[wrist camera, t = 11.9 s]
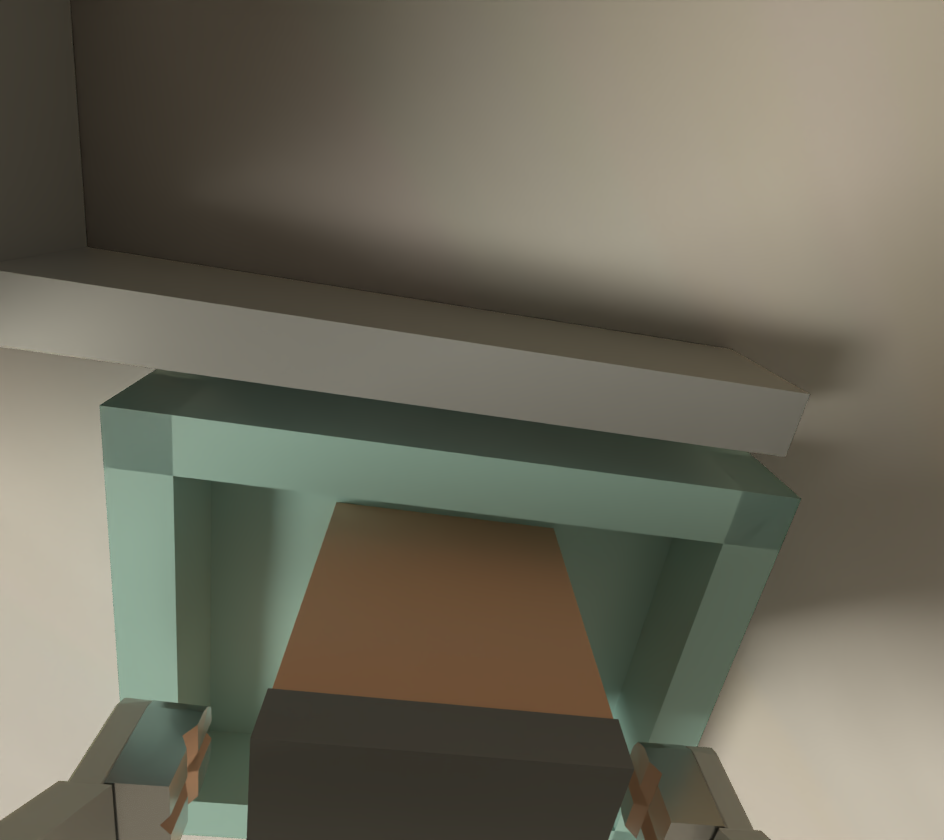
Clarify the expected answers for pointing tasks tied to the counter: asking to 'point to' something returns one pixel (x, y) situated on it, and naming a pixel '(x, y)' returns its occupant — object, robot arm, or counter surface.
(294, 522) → the tray
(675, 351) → the bay
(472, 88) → the counter surface
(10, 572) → the counter surface
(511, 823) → the orange-topped grey box
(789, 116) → the counter surface
